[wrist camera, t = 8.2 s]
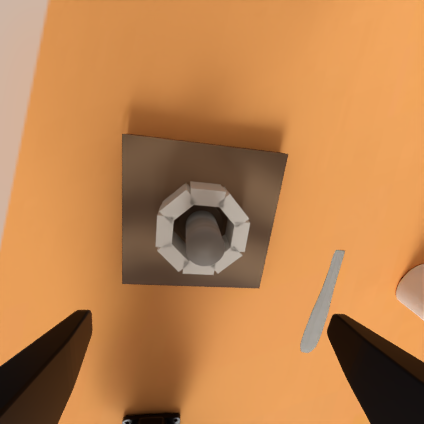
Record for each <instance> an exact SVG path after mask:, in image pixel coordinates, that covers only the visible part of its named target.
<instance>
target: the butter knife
mask: <svg viewBox="0 0 424 424" xmlns="http://www.w3.org/2000/svg"><path fill="white" fill-rule="evenodd" d="M344 253H345V251H343V250H336V251H335V253H334V256H333V258H332V261H331V265H330V268H329V271H328V274H327V277H326V279H325V282H324V285H323V288H322V290H321V293H320V295H319V297H318V299H317V301H316V304H315V306H314V308H313V310H312V313H311V315H310V318H309V321H308V323H307V326H306V329H305V331H304V334H303V337H302V340H301V344H300V347H301V351H302V352H305V353H308V352H311V351H312V350H313V349H314V348H315V347H316V345H317V343H318V341H319V338H320V336H321V333H322V330H323V327H324V324H325V321H326V318H327V314H328V311H329V307H330V303H331V298H332V294H333V290H334V287H335V283H336V280H337V276H338V273H339V269H340V266H341V263H342V259H343V256H344Z"/></svg>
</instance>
